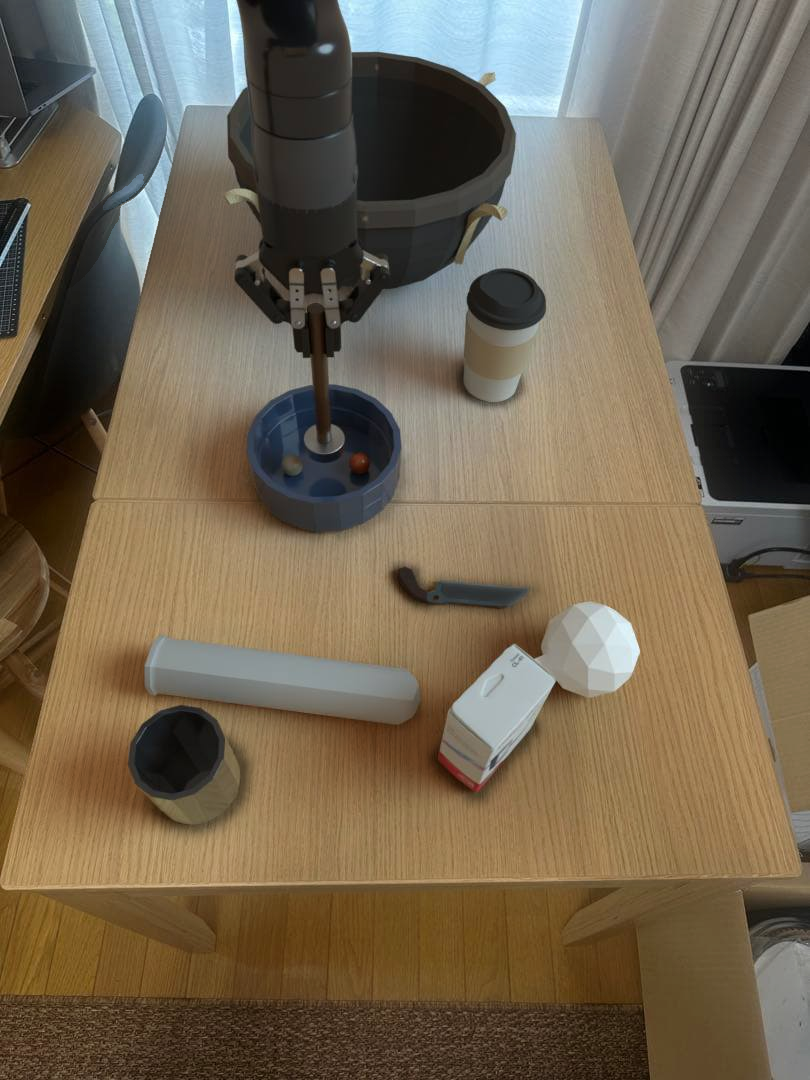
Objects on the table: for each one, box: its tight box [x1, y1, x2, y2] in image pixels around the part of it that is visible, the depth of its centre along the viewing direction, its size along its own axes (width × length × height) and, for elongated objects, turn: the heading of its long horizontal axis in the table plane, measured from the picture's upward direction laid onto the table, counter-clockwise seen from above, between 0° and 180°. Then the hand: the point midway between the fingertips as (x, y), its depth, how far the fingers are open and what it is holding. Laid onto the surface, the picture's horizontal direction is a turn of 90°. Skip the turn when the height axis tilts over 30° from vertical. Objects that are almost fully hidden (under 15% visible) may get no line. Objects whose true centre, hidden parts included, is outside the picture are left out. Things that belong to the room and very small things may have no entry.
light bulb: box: [533, 600, 641, 699], centre depth 70 cm, size 9×9×12 cm
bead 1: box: [281, 455, 303, 476], centre depth 83 cm, size 2×2×2 cm
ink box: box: [437, 643, 557, 793], centre depth 64 cm, size 9×5×12 cm, turn 137°
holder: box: [127, 704, 241, 826], centre depth 62 cm, size 7×8×9 cm
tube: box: [143, 633, 422, 726], centre depth 69 cm, size 5×5×25 cm
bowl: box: [222, 51, 517, 290], centre depth 98 cm, size 35×35×20 cm
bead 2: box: [349, 453, 370, 474], centre depth 84 cm, size 2×2×2 cm
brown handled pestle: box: [304, 302, 345, 463], centre depth 73 cm, size 4×4×19 cm
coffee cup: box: [463, 267, 547, 403], centre depth 88 cm, size 9×9×15 cm
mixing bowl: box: [245, 383, 403, 533], centre depth 83 cm, size 17×17×6 cm
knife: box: [397, 566, 531, 609], centre depth 77 cm, size 14×4×1 cm, turn 86°
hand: (318, 351), depth 69 cm, fingers closed on brown handled pestle
